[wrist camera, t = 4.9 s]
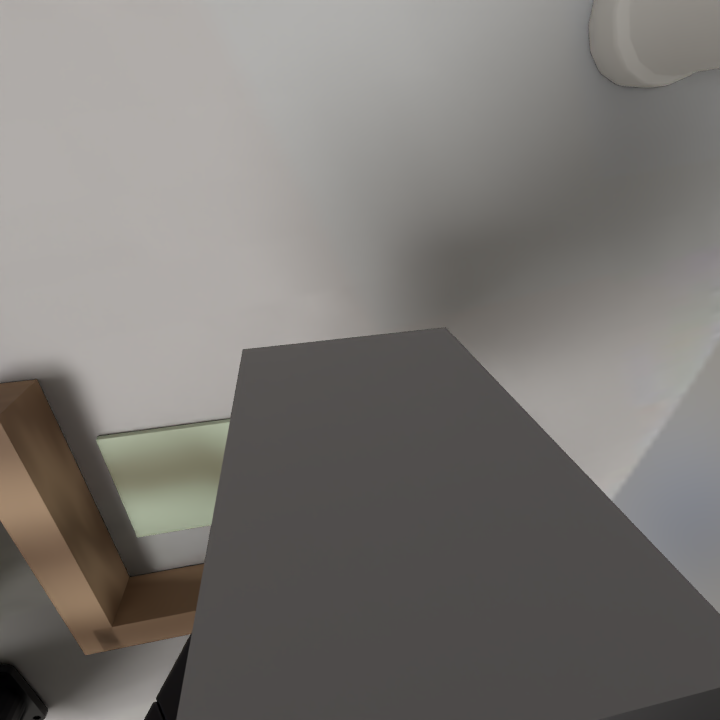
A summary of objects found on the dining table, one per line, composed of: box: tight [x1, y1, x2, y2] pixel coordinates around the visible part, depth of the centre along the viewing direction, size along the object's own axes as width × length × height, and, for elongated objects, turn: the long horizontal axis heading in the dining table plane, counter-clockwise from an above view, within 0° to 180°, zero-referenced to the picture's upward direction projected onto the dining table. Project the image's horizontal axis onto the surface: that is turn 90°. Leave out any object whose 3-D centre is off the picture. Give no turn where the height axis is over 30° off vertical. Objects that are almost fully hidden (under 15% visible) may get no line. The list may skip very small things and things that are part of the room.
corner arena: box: [0, 379, 230, 655], centre depth 22 cm, size 16×17×3 cm
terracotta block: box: [176, 327, 720, 720], centre depth 8 cm, size 8×4×7 cm, turn 3°
